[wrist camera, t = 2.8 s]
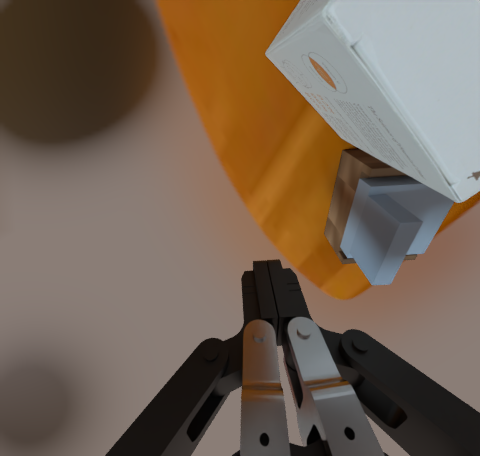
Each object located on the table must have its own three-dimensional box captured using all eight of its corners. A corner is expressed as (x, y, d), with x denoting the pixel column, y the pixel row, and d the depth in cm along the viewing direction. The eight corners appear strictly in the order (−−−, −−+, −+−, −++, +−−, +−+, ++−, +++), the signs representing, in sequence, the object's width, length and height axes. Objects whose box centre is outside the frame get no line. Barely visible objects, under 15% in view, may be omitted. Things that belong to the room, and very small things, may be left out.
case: (342, 150, 17) (372, 168, 13) (419, 145, 17) (469, 163, 13) (324, 233, 21) (342, 263, 18) (384, 230, 21) (414, 259, 18)
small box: (411, 68, 14) (704, 55, 5) (339, 140, 16) (463, 210, 8) (336, -57, 11) (746, -570, 2) (261, 53, 13) (321, 8, 5)
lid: (359, 178, 15) (404, 213, 11) (447, 173, 15) (522, 206, 11) (340, 246, 18) (369, 291, 14) (411, 242, 18) (459, 285, 14)
